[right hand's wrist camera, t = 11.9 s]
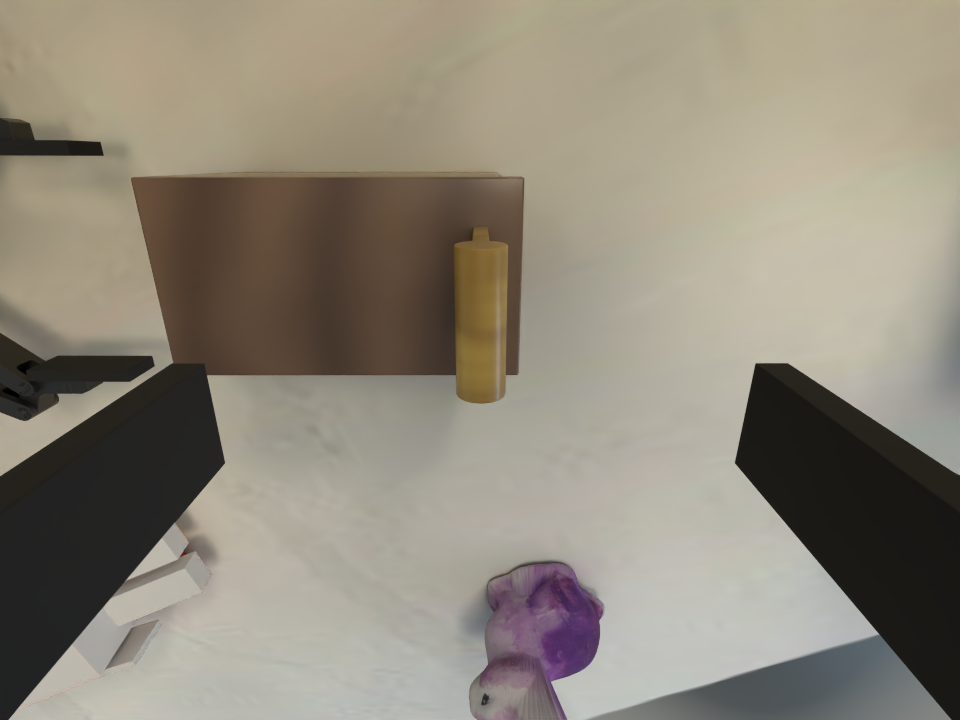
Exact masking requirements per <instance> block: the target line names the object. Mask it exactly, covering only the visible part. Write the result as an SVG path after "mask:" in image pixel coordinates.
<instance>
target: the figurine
mask: <svg viewBox="0 0 960 720" xmlns="http://www.w3.org/2000/svg"><path fill="white" fill-rule="evenodd" d="M488 600H489V604H490V607H491V608H492V611H493V612H494V613H493V615H492V616H491V618H490V619H489V621H488V623H487V625H486V630H485V646H486V652H487V658H488V666H487V667H486V668H485V670H484V671H483V672H482V673H481V674H480V675H479V676H478V677H477V678H476V679H475V680H474V681H473V682H472V684H471V686H470V690H469V701H470V711H471V713H472V715H473V716H474V717H475V718H476V719H477V720H567V718H566V716H565V714H564V711H563V709H562V707H561V705H560V702H559V700H558V698H557V695H556V693H555V691H554V689H553V686H552V684H551V681H553V680H557V679H561V678H564V677H567V676H570V675H573V674H575V673H577V672H579V671H581V670H583V669H584V668H586V667H587V666H588V665H589V664H590V663H591V662H592V660H593V658H594V657H595V654H596V652H597V648H598V645H599V639H600V624H599V620H600V619H601V617H602V616H603V615H604V612H605V607H604V604H603V603H602V601H601V600H600V599H598V598H597V597H596V596H594V595H592V594H591V593H589V592H587V591H585V590H584V589H582V588H581V587H580V586H579V585H578V583H577V578H576V575H575V573H574V571H573V570H572V569H571V568H570V567H568V566H566V565H563V564H561V563H556V562H555V563H545V564H532V565H527V566H523V567H522V566H520V567H519V568H518V569H516V570H514V571H512V572H510V573H509V574H507V575H504V576H501V577H497V578H495V579H493V580H491V581H490V582H489V584H488Z"/></svg>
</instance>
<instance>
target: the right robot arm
mask: <svg viewBox="0 0 960 720" xmlns="http://www.w3.org/2000/svg"><path fill="white" fill-rule="evenodd" d="M224 464H225V460H224V456H223V451H222V446H221V441H220V436H219V432H218V427H217V422H216V417H215V412H214V408H213V403H212V398H211V393H210V388H209V383H208V379H207V374H206V369H205V364H204V363H172V364H171V365H169V366H168V367H166V368H164V369H163V370H161V371H160V372H158V373H157V374H155V375H154V376H152V377H151V378H149V379H148V380H146V381H145V382H143V383H142V384H140V385H139V386H137V387H136V388H134V389H133V390H131V391H129V392H128V393H126V394H125V395H123V396H122V397H120V398H119V399H117V400H116V401H114V402H113V403H111V404H110V405H108V406H107V407H105V408H104V409H102V410H101V411H99V412H98V413H96V414H95V415H93V416H91V417H90V418H88V419H87V420H85V421H84V422H82V423H81V424H79V425H78V426H76V427H75V428H73V429H72V430H70V431H69V432H67V433H66V434H64V435H63V436H61V437H60V438H58V439H56V440H55V441H53V442H52V443H50V444H49V445H47V446H46V447H44V448H43V449H41V450H40V451H38V452H37V453H35V454H34V455H32V456H31V457H29V458H28V459H26V460H25V461H23V462H21V463H20V464H18V465H17V466H15V467H14V468H12V469H11V470H9V471H8V472H6V473H5V474H3V475H2V476H0V720H9V718H10V717H11V716H12V715H13V714H14V712H15V711H16V710H17V709H18V708H19V707H20V705H21V704H22V703H23V702H24V701H25V699H26V698H27V697H28V696H29V695H30V694H31V692H32V691H33V690H34V689H35V688H36V686H37V685H38V684H39V683H40V682H41V680H42V679H43V678H44V677H45V676H46V675H47V673H48V672H49V671H50V670H51V669H52V667H53V666H54V665H55V664H56V663H57V662H58V660H59V659H60V658H61V657H62V656H63V654H64V653H65V652H66V651H67V650H68V649H69V647H70V646H71V645H72V644H73V643H74V641H75V640H76V639H77V638H78V637H79V635H80V634H81V633H82V632H83V631H84V630H85V628H86V627H87V626H88V625H89V624H90V622H91V621H92V620H93V619H94V618H95V617H96V615H97V614H98V613H99V612H100V611H101V609H102V608H103V607H104V606H105V605H106V604H107V602H108V601H109V600H110V599H111V598H112V596H113V595H114V594H115V593H116V592H117V590H118V589H119V588H120V587H121V586H122V585H123V583H124V582H125V581H126V580H127V579H128V577H129V576H130V575H131V574H132V573H133V572H134V570H135V569H136V568H137V567H138V566H139V564H140V563H141V562H142V561H143V560H144V558H145V557H146V556H147V555H148V554H149V553H150V551H151V550H152V549H153V548H154V547H155V545H156V544H157V543H158V542H159V541H160V540H161V538H162V537H163V536H164V535H165V534H166V532H167V531H168V530H169V529H170V528H171V527H172V525H173V524H174V523H175V522H176V521H177V519H178V518H179V517H180V516H181V515H182V513H183V512H184V511H185V510H186V509H187V508H188V506H189V505H190V504H191V503H192V502H193V500H194V499H195V498H196V497H197V496H198V495H199V493H200V492H201V491H202V490H203V489H204V487H205V486H206V485H207V484H208V483H209V482H210V480H211V479H212V478H213V477H214V476H215V474H216V473H217V472H218V471H219V470H220V468H221V467H222V466H223V465H224ZM735 464H736V465H737V466H738V467H739V468H740V470H741V471H742V472H743V473H744V474H745V476H746V477H747V478H748V479H749V480H750V482H751V483H752V484H753V485H754V486H755V487H756V489H757V490H758V491H759V492H760V493H761V495H762V496H763V497H764V498H765V499H766V500H767V502H768V503H769V504H770V505H771V506H772V508H773V509H774V510H775V511H776V512H777V513H778V515H779V516H780V517H781V518H782V519H783V521H784V522H785V523H786V524H787V525H788V527H789V528H790V529H791V530H792V531H793V532H794V534H795V535H796V536H797V537H798V538H799V540H800V541H801V542H802V543H803V544H804V545H805V547H806V548H807V549H808V550H809V551H810V553H811V554H812V555H813V556H814V557H815V558H816V560H817V561H818V562H819V563H820V564H821V566H822V567H823V568H824V569H825V570H826V572H827V573H828V574H829V575H830V576H831V577H832V579H833V580H834V581H835V582H836V583H837V585H838V586H839V587H840V588H841V589H842V590H843V592H844V593H845V594H846V595H847V596H848V598H849V599H850V600H851V601H852V602H853V604H854V605H855V606H856V607H857V608H858V609H859V611H860V612H861V613H862V614H863V615H864V617H865V618H866V619H867V620H868V621H869V622H870V624H871V625H872V626H873V627H874V628H875V630H876V631H877V632H878V633H879V634H880V635H881V637H882V638H883V639H884V640H885V641H886V643H887V644H888V645H889V646H890V647H891V649H892V650H893V651H894V652H895V653H896V654H897V656H898V657H899V658H900V659H901V660H902V662H903V663H904V664H905V665H906V666H907V667H908V669H909V670H910V671H911V672H912V673H913V675H914V676H915V677H916V678H917V679H918V680H919V682H920V683H921V684H922V685H923V686H924V688H925V689H926V690H927V691H928V692H929V694H930V695H931V696H932V697H933V698H934V699H935V701H936V702H937V703H938V704H939V705H940V707H941V708H942V709H943V710H944V711H945V712H946V714H947V715H948V716H949V717H950V718H951V720H960V475H958V474H956V473H954V472H952V471H951V470H949V469H948V468H946V467H945V466H943V465H942V464H940V463H939V462H937V461H935V460H934V459H932V458H931V457H929V456H928V455H926V454H925V453H923V452H922V451H920V450H919V449H917V448H916V447H914V446H913V445H911V444H910V443H908V442H907V441H905V440H904V439H902V438H900V437H899V436H897V435H896V434H894V433H893V432H891V431H890V430H888V429H887V428H885V427H884V426H882V425H881V424H879V423H878V422H876V421H875V420H873V419H872V418H870V417H869V416H867V415H865V414H864V413H862V412H861V411H859V410H858V409H856V408H855V407H853V406H852V405H850V404H849V403H847V402H846V401H844V400H843V399H841V398H840V397H838V396H837V395H835V394H834V393H832V392H831V391H829V390H827V389H826V388H824V387H823V386H821V385H820V384H818V383H817V382H815V381H814V380H812V379H811V378H809V377H808V376H806V375H805V374H803V373H802V372H800V371H799V370H797V369H796V368H794V367H792V366H791V365H789V364H788V363H756V364H755V369H754V374H753V379H752V383H751V388H750V393H749V398H748V403H747V408H746V412H745V417H744V422H743V427H742V432H741V436H740V441H739V446H738V451H737V456H736V460H735Z"/></svg>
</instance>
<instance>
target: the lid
mask: <svg viewBox="0 0 960 720" xmlns="http://www.w3.org/2000/svg"><path fill="white" fill-rule="evenodd" d="M131 181H132V185H133V190H134V194H135V198H136V203H137V207H138V211H139V216H140V220H141V224H142V229H143V233H144V237H145V242H146V246H147V250H148V255H149V259H150V263H151V268H152V272H153V276H154V281H155V285H156V289H157V294H158V298H159V302H160V307H161V311H162V315H163V320H164V324H165V328H166V333H167V337H168V341H169V346H170V350H171V354H172V359H173V363H204V364H205V369H206V374H207V375H456V393H457V396H458V397H459V398H460V399H462V400H464V401H467V402H471V403H491V402H495V401H498V400H500V399H501V398H503V397H504V395H505V381H506V375H518V373H519V342H520V308H521V274H522V240H523V206H524V178H523V177H133V178H131Z"/></svg>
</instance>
